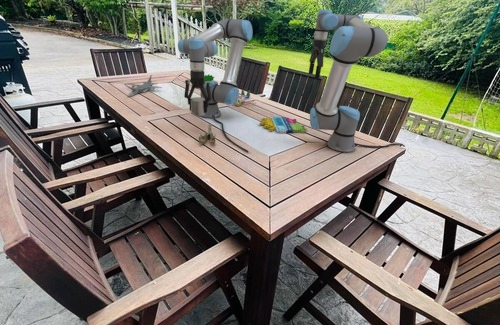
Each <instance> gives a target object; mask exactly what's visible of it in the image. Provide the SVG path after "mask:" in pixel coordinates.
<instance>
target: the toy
mask: <svg viewBox="0 0 500 325" xmlns="http://www.w3.org/2000/svg"><path fill="white" fill-rule="evenodd" d="M240 92H241V93H240V95H239V97H238V100H237V101H236V103H235V104H233V105H235V106H242V103H243V104H247V105H252V106H255V105H256V104H257V103H256V102H254V101H253V100H252V101H251V102H250V101H248V100H246V99H248V98H250V97H251V90H250V89H249V90H248V91H247V92H246V93H245V91H244V89H242V90H241V91H240Z"/></svg>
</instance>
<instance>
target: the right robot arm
mask: <svg viewBox="0 0 500 325" xmlns="http://www.w3.org/2000/svg"><path fill="white" fill-rule="evenodd" d="M332 12H333V11H332V10H331V9H319V10H318V12H317V16H316V24H315V28H314V33H313V38H314V39H313V41H312V46H313V47H312V51H311V54H310V57H309V61H308V62H309V68H308V72H307V73H308V75H313V74H314V68H315V67H316V68H315V74H314V79H320V78H321V77H320V76H321V71H322V68H323V67H324V53H325V49H323V48H325V47H326V45H327V39H328V34H329V31H331V30H333V31H335V32H334V33H333V35H332V38H331V41H330V46H329V54H330V55H331V59H332V64H331V68H330V71H329V73H328V77H327V79H326V83H325V86H324V89H323V92H322V96H321V98H320V101H319V102H317V103H316V105H315V107H311V108H310V111H309V123H310V124H309V125H310V127H311V129H313V130H318V131H319V130H320V131H321V130H322V131H332V134H331V135H330V136H329V138H328V140H327V144H326V145H327V147H328V148H329V149H331V150H333V151H336V152H339V153H352V152H354V150H355V147H356V146H359V147H364V148H373V149H374V148H375V149H377V148H388V147H390V146H398V145H399V146H402V147H404V148H406V145H405V144H403V143H402V142H401V143H399V142H398V143H397V142H396V143H395V142H394V143H389V144H386V145H367V144H360V143H357V142H355V135H356V131H357V128H358V126H359V125H358V124H359V121H360V117H361V112H360V111H359V110H358V109H357V108H354V107H351V106H347V105H339V107H338V106H337V105H338V103H339V100H340V98H341V96H342V93H343V90H344V87H345V85H346V83H347V79H348V77H349V75H350V72H351V69H352V67H353V65H356V64H357V63H358V61H359V59H360V58H372V57H376V56H377V55H380V54H381V53H382V52H383V51H384V50H385V48H386V47H387V45H388V41H389V40H388V39H389V36H388V34H387V32H386V31H385V30H384V29H382V28H380V27H379V26H378V27H377V26H372V25H370V24H369V23H368V22H365V21H364V17H363V16H361V15H358V14H357V15H354V14H353V15H352V14H339V13H332ZM315 64H316V66H315Z"/></svg>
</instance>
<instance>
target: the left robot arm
mask: <svg viewBox="0 0 500 325" xmlns="http://www.w3.org/2000/svg"><path fill="white" fill-rule="evenodd" d="M253 33H254V32H253V25H252V23H251V21H249V20H247V19H236V18H224V19H221V20H219V21H217V22H215V23H213V24H212V25H211V27H209V28H207V29H205V30H203V31H201V32H199V33H197V34H195V35H193V36H192V37H190V38H187V39H186V38H182V39H179V40H178V42H177V49H178V51H179V52H180V54H184V55H189V69H190V71H189V77H190V79H188V78H187V79H185V80H184V82H185V87H184V94H183V95H184V99H187V105H189V106H188V107H189V112H191V98H192V96H193V94H194V92H195V89H199V90H200V97H201V98H204V99H205V101H204V113H206V114H205V115H202V116H200V117H201V118H205V119H213V120H214V121H215V122H216V123H219V124H221V129H222V133H223V135H224V137H225V138H226V139H227V140H228V141H229V142H230V143H231V144H233V145H235V146H236V147H237V148H240V149H241V150H242V151H244V152H246V153H248V152H249V150H247V149H245V148H244V147H242V146H241V145H239V144H237V143H236V142H235V141H233V140H232V139H231V138H229V137H228V135H227V134H226V131H225V129H224V123H223V122H221V121H219V120H217V119H216V118H219V117H221V110H220V108H219V103H220V104H223V105H227V106H228V105H230V106H233V105H234V104H235V103H236V101H237V100H238V97H239V96H240V89H239V88H238V84H237V79H238V74H239V71H240V67H241V62H242V58H243V52H244V48H245V46H247V44H248V42H249V41H251V40H252V39H253ZM221 39H229V42H230V47H229V51H228V56H227V61H226V65H225V70H224V75H223V79H221V80H220V81H219V82H218V81H217V80H213V81H207V82H206V81H205V79H204V76H205V58H211V57H214V56H216V55H217V54H218V46H217V44H216V43H215V42H214V41H217V40H221ZM190 84H191V87H190Z"/></svg>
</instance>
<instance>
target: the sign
mask: <svg viewBox="0 0 500 325" xmlns="http://www.w3.org/2000/svg"><path fill="white" fill-rule="evenodd" d="M259 126H262V127H263V129H266V130H268V131H269V132H270V133H271V132H273V131H276V133H277V134H293V133H301V134H305V132H306V131H307V128H306V127H305V125H304V124H300V122H297V118H289V117H286V116H271V117H270V116H269V117H262V121H261V122H259Z"/></svg>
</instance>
